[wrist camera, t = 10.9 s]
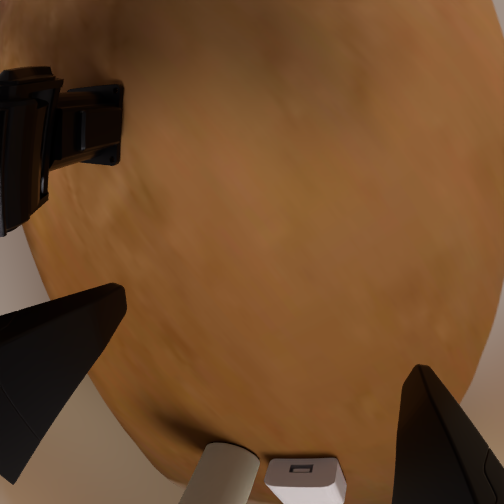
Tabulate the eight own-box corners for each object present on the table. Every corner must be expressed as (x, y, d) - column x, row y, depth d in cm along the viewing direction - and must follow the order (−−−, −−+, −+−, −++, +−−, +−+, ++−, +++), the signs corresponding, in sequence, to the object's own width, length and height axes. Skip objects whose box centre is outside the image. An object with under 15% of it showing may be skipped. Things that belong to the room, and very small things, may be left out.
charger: (298, 494, 39) (270, 456, 34) (351, 493, 36) (338, 455, 31) (292, 516, 35) (262, 485, 30) (348, 516, 31) (333, 486, 27)
